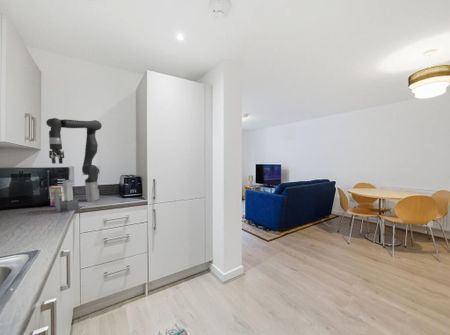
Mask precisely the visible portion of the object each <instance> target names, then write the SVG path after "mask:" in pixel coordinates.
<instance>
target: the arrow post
mask: <svg viewBox="0 0 450 335" xmlns="http://www.w3.org/2000/svg"><path fill="white" fill-rule="evenodd" d="M61 194H62V192H61V193H59V191H54V199H55V206H54V210H56V211H55V213H56V214H58V213H61V212H60V200H59V195H61Z"/></svg>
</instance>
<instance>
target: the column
mask: <svg viewBox="0 0 450 335" xmlns="http://www.w3.org/2000/svg"><path fill="white" fill-rule="evenodd" d="M73 181H74V180H73V179H66V180H62V181H61V182H62V185H61V186H63V190H64V192H63V193H64V201H71V200H73V199H74V191H73Z"/></svg>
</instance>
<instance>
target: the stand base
mask: <svg viewBox="0 0 450 335" xmlns="http://www.w3.org/2000/svg"><path fill="white" fill-rule="evenodd" d="M82 207H85V208H86V206H85V205H84V206H83V205H79V199H74V198H73V200H71V201H60V212H59V213H63V212H64V213H65V214H66V212H67V213H70V212H69V211H71V212H74V211H79V210H81V209H80V208H82ZM82 209H83V208H82ZM73 210H74V211H73ZM53 212H56V210H55V209H53ZM64 213H63V214H64Z"/></svg>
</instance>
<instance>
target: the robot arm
mask: <svg viewBox="0 0 450 335" xmlns="http://www.w3.org/2000/svg"><path fill="white" fill-rule="evenodd" d="M46 125H47V126H48V127H50V130H49V131H48V137H49V139H48V141H49V142H48V143H49V151H48V153H49V154H48V156H49V159H51V164H52V165H53V164H57V161H56V160H57V159H56V158H58V164H59V165H60V164H62V165H63V159H65V152H64V150H62V149H63V145H62V137H61V136H62V134H61V132H62V131H61V130H62V128H64V129H86V141H85V148H84V157H83V159H84V160H83V164H82V168H81V169H82V173H83V175H87V178H85V179H84V184H85V185H84V186H85V197H86V198H85V199H86V200H85V201H86V202H94V201H99V200H100V189H99V188H98V178H99V171H98V166H96V165H95V164H92V163H93V160H94V158H95V156H96V155H97V153H98V146H99V144H98V141H97V139H96V133H97V131H99V130H101V128H102V123H101V122H100V121H99V120H93V119H92V120H76V119H65V118H64V119H59V118H57V117H53V118H52V117H51V118H48V119H47V120H46Z"/></svg>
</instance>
